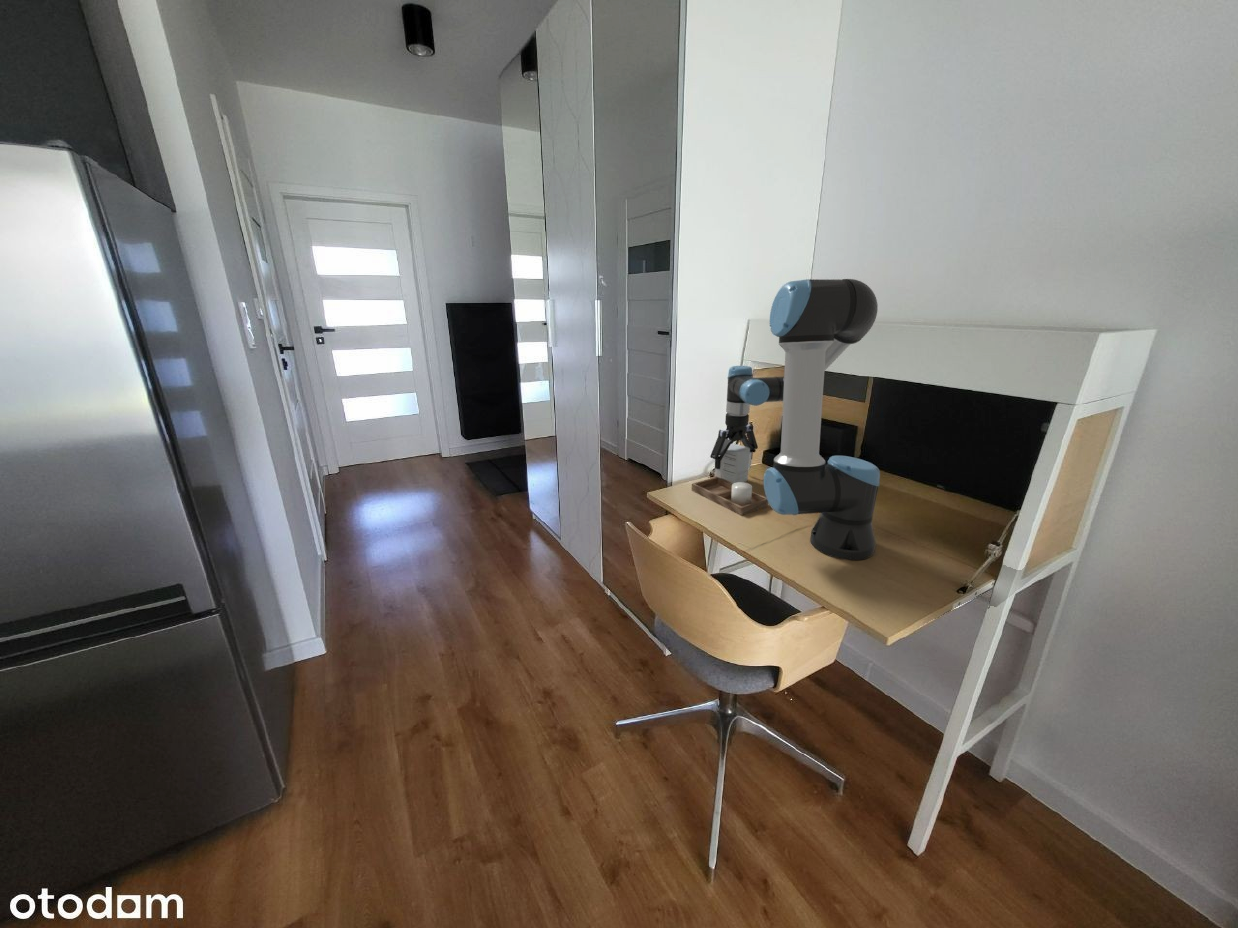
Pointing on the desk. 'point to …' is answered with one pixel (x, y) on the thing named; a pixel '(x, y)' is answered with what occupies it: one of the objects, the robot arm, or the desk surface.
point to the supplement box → (736, 463)
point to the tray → (727, 495)
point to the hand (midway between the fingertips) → (733, 473)
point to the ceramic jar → (741, 493)
